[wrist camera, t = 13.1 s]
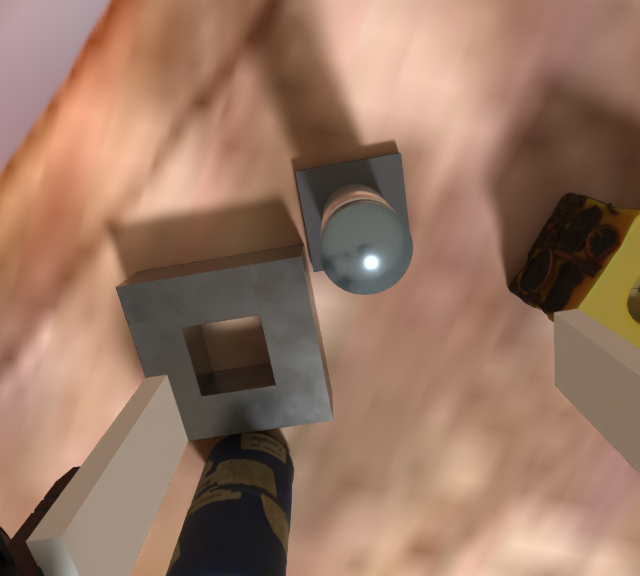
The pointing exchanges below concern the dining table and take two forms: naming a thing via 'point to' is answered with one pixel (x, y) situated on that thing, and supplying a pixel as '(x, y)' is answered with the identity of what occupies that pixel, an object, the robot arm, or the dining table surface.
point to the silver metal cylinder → (363, 241)
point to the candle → (587, 265)
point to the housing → (225, 304)
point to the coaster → (326, 179)
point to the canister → (238, 512)
